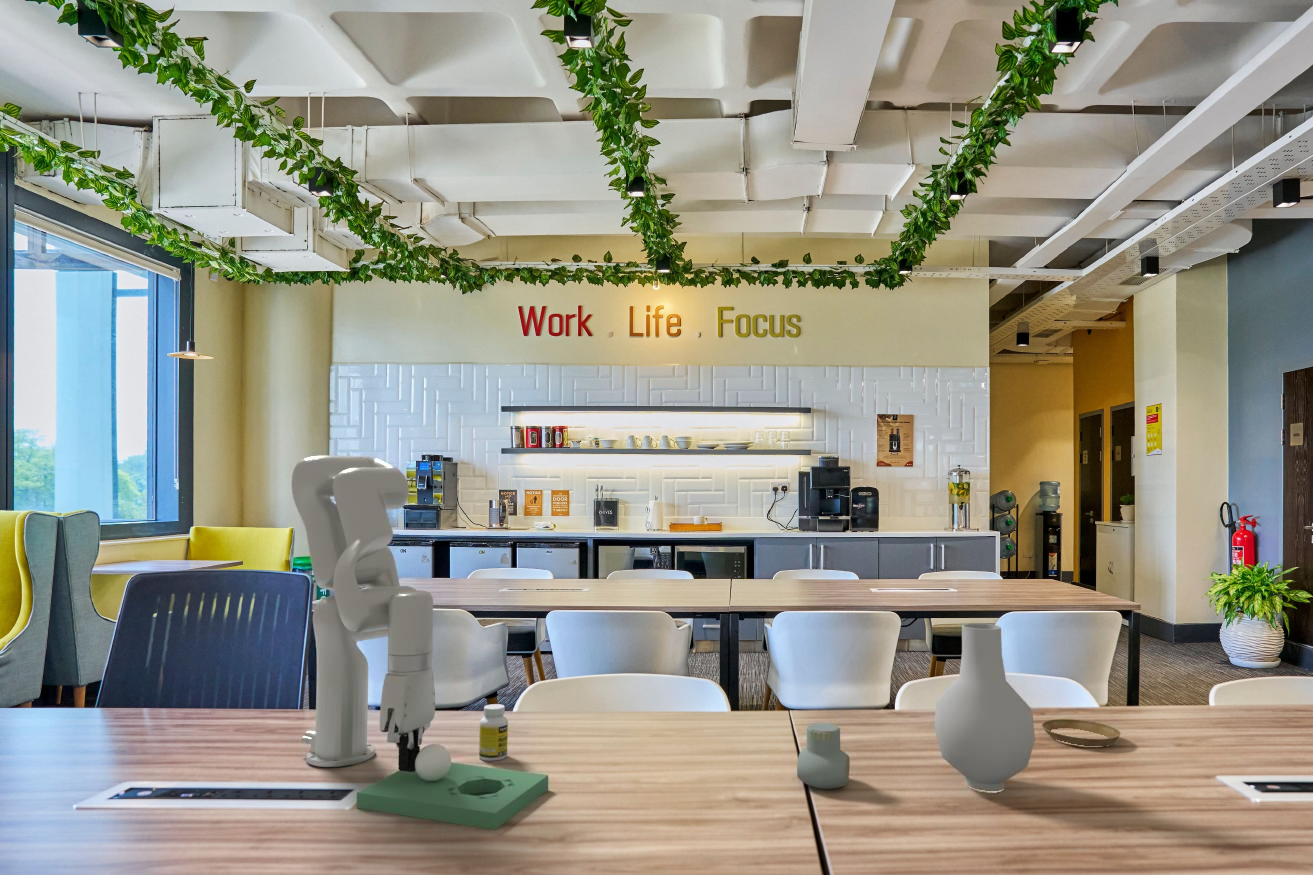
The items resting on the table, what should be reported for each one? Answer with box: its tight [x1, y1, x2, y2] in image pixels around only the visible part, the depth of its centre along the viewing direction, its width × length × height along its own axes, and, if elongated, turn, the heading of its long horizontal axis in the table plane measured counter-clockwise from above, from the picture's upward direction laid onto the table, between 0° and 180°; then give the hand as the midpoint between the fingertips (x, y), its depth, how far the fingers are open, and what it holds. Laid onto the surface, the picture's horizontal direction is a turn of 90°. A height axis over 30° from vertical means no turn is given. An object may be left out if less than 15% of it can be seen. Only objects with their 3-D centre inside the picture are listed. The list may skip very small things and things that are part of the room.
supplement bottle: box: [478, 703, 509, 762], centre depth 163 cm, size 5×5×10 cm
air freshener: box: [796, 722, 851, 790], centre depth 149 cm, size 11×8×10 cm
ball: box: [415, 743, 452, 781], centre depth 143 cm, size 6×6×6 cm
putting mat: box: [356, 762, 549, 831], centre depth 141 cm, size 26×18×2 cm
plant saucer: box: [1041, 718, 1121, 747], centre depth 174 cm, size 15×15×3 cm
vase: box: [934, 622, 1036, 791], centre depth 148 cm, size 17×16×28 cm
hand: (408, 769), depth 144 cm, fingers closed
